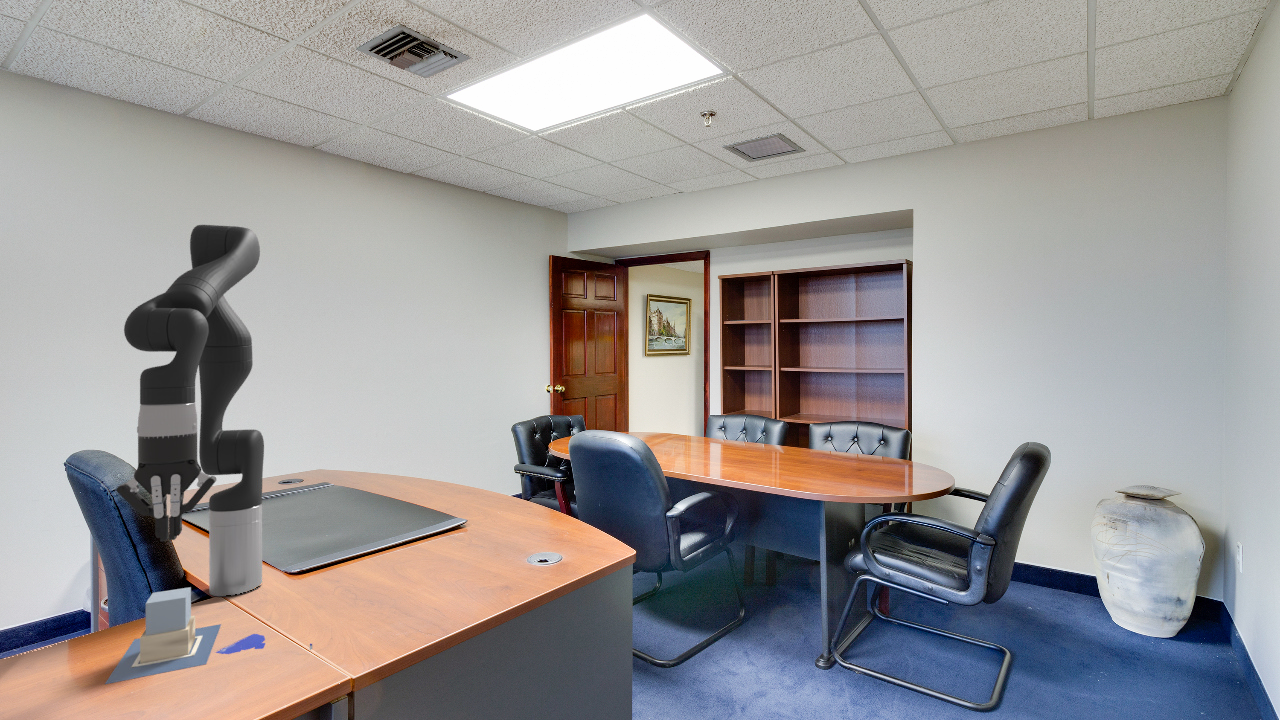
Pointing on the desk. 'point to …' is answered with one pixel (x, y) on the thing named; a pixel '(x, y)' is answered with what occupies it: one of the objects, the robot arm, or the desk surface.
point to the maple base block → (167, 643)
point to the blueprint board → (196, 657)
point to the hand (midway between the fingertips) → (168, 539)
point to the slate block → (168, 611)
